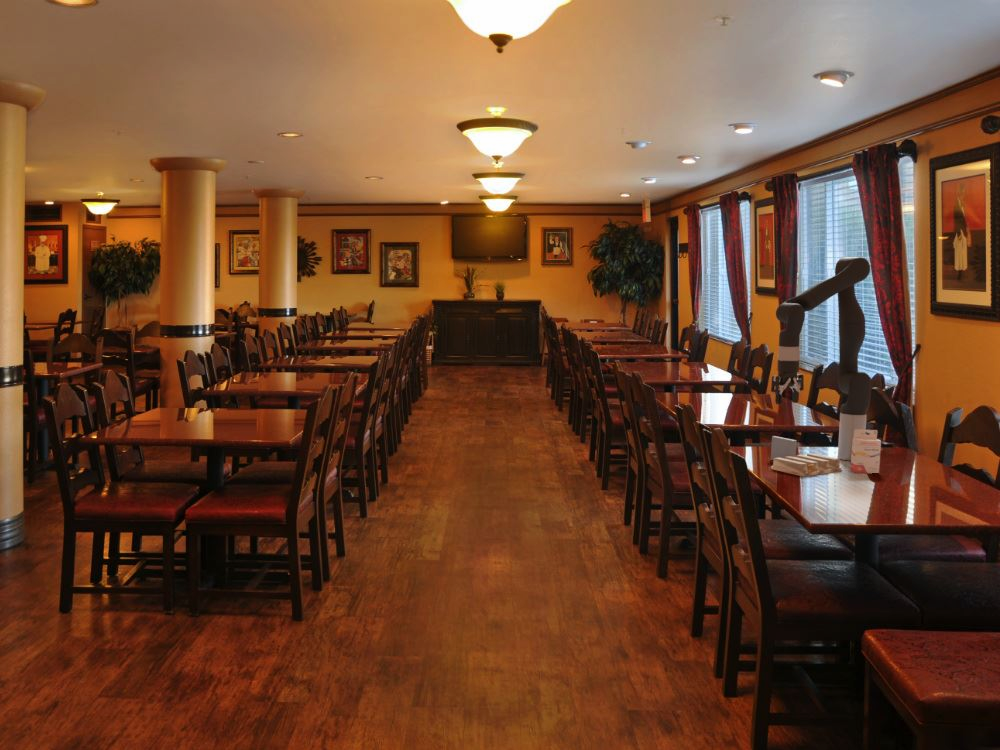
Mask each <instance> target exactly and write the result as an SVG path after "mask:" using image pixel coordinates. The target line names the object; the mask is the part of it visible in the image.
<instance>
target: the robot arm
mask: <svg viewBox="0 0 1000 750" xmlns="http://www.w3.org/2000/svg"><path fill="white" fill-rule="evenodd" d="M834 268H835V269H834V274H835V275H833V276H831V277H830V278H827V279H825V280H823V281H820V282H818V283H815V284H814V285H812V286H810V287H809V288H807V289H806V290H804V291H803V292H801V293H800V294H799V295H797V296H794V297H791V298H790V299H787V300H786V301H783V302H782V303H781V304H779V306H777V309H776V311H775V316H776V318H777V320H778V321H779V322H782V323H786V327H785V329H783V330H781V331H779V335H778V336H779V337H778V351H777V365H776V366H777V368H776V369H777V372H778V375H772V377H771V386H770V392H771V393H773V394H774V395H775V404H776V405H782V404H783V394H782V393H783V392H784V390H786V389H787V388H790V389H791V390H792V393H791V395H792V398H791V402H792V403H794V404H797V403H799V400H800V399H799V398H800V392H801V391H804V390H805V389H804V388H805V387H804V385H805V384H804V383H805V382H804V377H805V376H804V374H803V373H799V372H800V361H801V360H800V359H801V358H800V357H801V353H800V336H801V332H802V331H803V330H802V329H803V326H804V323H805V317H806V313H805V312H810V311H812V310H814V309H816V308H817V307H819V306H820V305H822V304H823V303H824V302H825V301H827V300H829V299H830V298H832V297H833V296H834V295H837V302H838V303H837V307H838V337H839V340H838V343H839V345H838V346H839V352H838V353H839V362H838V374H837V384H838V388H839V390H840V391H841V392H842V393H844V394H845V395H847V399H846V402H845V403H843V404H841V406H840V410H839V411H840V413H839V427H838V431H839V432H838V445H837V446H838V447H837V448H838V449H837V459H840V460H843V461H850V462H851V455H852V441H853V435H854V430H855V429H860V430H861V429H862V430H867V429H866V428H867V417H868V416H867V412H868V409H869V408H870V407H869V406H870V403H871V396H872V395H871V394H872V380H871V376H870V375H869V374H868V373H867V372H865V371H860V370H859V365H858V364H859V361H858V358H859V353H860V351H861V349H862V346H863V344H864V341H865V339H866V317H865V314H864V311H863V309H862V307H861V305H860V303H859V301H858V298H857V296H856V288H855V285H856V284H859V283H860V282H862V281H864V280H865V279H867V278H868V276H869V274H870V272H871V265H870V263H869V260H867V259H866V258H865V257H861V256H846V257H845V256H844V257H841V258H839V260H837V262H836V264H835V267H834ZM861 434H863V435H868V433H867V432H865V433H861Z"/></svg>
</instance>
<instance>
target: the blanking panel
mask: <svg viewBox="0 0 1000 750" xmlns="http://www.w3.org/2000/svg"><path fill="white" fill-rule="evenodd" d="M796 455H797V440H796V439H791V438H785V437H781V436H777V435H772V436H771V450H770V461H771V460H773V461H774V458H784V459H785V457H787V456H792V457H796ZM773 461H772V462H773Z"/></svg>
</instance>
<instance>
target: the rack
mask: <svg viewBox="0 0 1000 750" xmlns="http://www.w3.org/2000/svg"><path fill="white" fill-rule="evenodd" d="M772 463H773V464H772V465H771V466H770V469H771V470H774V471H779V472H782V473H785V474H792V475H794V476H795V475H796V476H800V477H808V476H815V475H822V474H829V473H836V472H842V471H843V468H842V467H840V465H841V459H839V458H838V457H837V458H836V457H831V456H826V455H823V454H817V453H806V455H804V454H796V457H792V456H787V457H785V459H784V458H774V461H772Z"/></svg>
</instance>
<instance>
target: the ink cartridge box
mask: <svg viewBox="0 0 1000 750" xmlns="http://www.w3.org/2000/svg"><path fill="white" fill-rule="evenodd" d="M865 432H866V433H865ZM861 433H865V434H867V435H863V434H861ZM878 433H879V432H878V429H866V430H862V429H861V430H860V429H855V430H854V435H853V441H852V455H851V461H850V471H851V472H853V473H854V474H855V473H856V474H858V473H859V474H872V473H879V474H880V464H881V451H882V449H881V448H882V440H880V439H878Z"/></svg>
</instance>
